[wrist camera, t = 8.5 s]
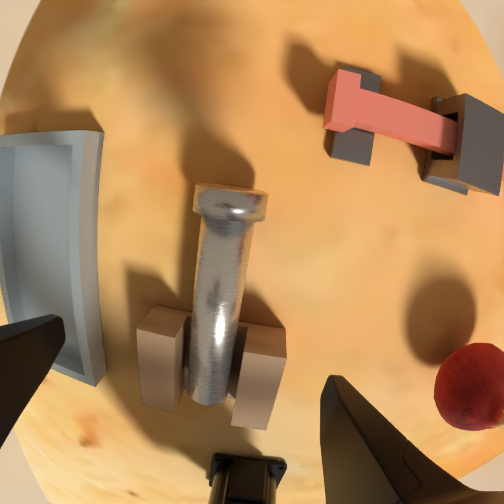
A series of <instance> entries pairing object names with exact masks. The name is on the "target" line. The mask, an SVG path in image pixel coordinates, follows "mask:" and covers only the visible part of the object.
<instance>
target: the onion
mask: <svg viewBox="0 0 504 504" xmlns="http://www.w3.org/2000/svg"><path fill="white" fill-rule="evenodd" d="M434 400H435V403H436V406H437V408H438V411H439V413H440V415H441V416H442V417H443V419H444V420H445V421H446V422H447V423H448V424H450V425H451V426H453V427H455V428H458V429H462V430H469V431H479V430H484V429H491V428H503V427H504V352H503V351H502V350H500V349H499V348H498V347H496V346H494V345H493V344H490V343H472V344H470V345H467V346H464V347H461V348H459V349H458V350H455V351H454V352H452V353H451V354H450V355H449V356H448V357H447V358H446V359H445V360H444V362H443V364H442V365H441V367H440V369H439V371H438V374H437V376H436V381H435V387H434Z"/></svg>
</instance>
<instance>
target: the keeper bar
mask: <svg viewBox="0 0 504 504" xmlns="http://www.w3.org/2000/svg"><path fill="white" fill-rule="evenodd" d="M360 82H361V74H357V73H353V72H349V71H345V70H341V69H338V70H337V71H336V73H335V74H334V76H333V77H332V79H331V80H330V82H329V85H328V93H327V100H326V107H325V114H324V121H323V127H322V128H325V129H329V130H334V131H338V132H344V131H347V130H349V129H351V128H353V127H355V128H359V129H363V130H367V131H370V132H374V133H378V134H381V135H385V136H388V137H392V138H395V139H398V140H402V141H405V142H408V143H411V144H414V145H417V146H420V147H423V148H426V149H429V150H432V151H435V152H437V153H440V154H443V155H446V156H448V157H451V158H453V159H454V151H455V143H456V133H457V122H455V121H453V120H450V119H448V118H446V117H443V116H441V115H438V114H436V113H433V112H431V111H428V110H426V109H423V108H420V107H417V106H415V105H412V104H409V103H406V102H403V101H400V100H397V99H394V98H391V97H388V96H385V95H381V94H378V93H375V92H371V91H368V90H364V89H360ZM502 180H504V164H503V172H502Z"/></svg>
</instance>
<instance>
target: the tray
mask: <svg viewBox="0 0 504 504" xmlns="http://www.w3.org/2000/svg"><path fill="white" fill-rule="evenodd" d="M103 138H104V132H97V131H88V130H72V131H48V132H33V133H20V134H10V135H1V136H0V284H1V290H2V295H3V301H4V306H5V310H6V315H7V319H8V323H9V324H11V323H15V322H20V321H24V320H28V319H32V318H36V317H40V316H45V315H49V314H55V315H58V316H61V317H62V319H63V322H64V328H65V334H66V341H65V343H64V345H63V347H62V349H61V350H60V352H59V354H58V356H57V358H56V359H55V361H54V363H53V365H52V367H51V369H53V370H55V371H58V372H60V373H62V374H64V375H67V376H69V377H72V378H74V379H76V380H79V381H81V382H84V383H86V384H89V385H92V386H94V387H96V386H97V384H98V383H99V382H100V380H101V379H102V378H103V376H104V375H105V374H106V372H107V368H106V362H105V355H104V347H103V339H102V330H101V320H100V308H99V294H98V273H97V212H98V191H99V177H100V166H101V156H102V147H103Z"/></svg>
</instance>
